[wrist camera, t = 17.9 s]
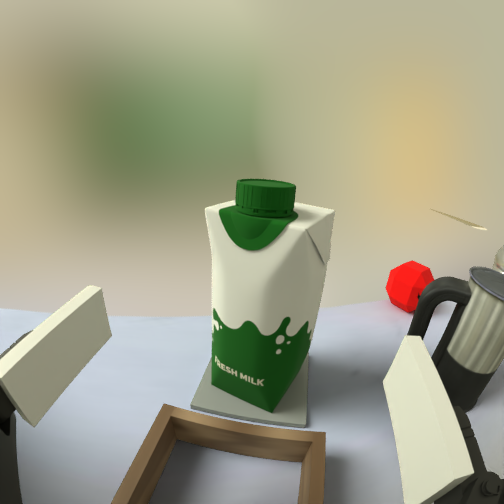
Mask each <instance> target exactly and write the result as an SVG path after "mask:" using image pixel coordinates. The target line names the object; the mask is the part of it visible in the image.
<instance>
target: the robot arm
mask: <svg viewBox="0 0 504 504" xmlns="http://www.w3.org/2000/svg"><path fill="white" fill-rule="evenodd" d="M111 336H112V334H111V330H110V326H109V322H108V317H107V313H106V308H105V303H104V298H103V293H102V288H99V287H96V286H92V285H89V286H88V287H86V288H85V289H84V290H82V291H81V292H80V293H79V294H77V295H76V296H75V297H73V298H72V299H71V300H69V301H68V302H67V303H66V304H64V305H63V306H62V307H61V308H59V309H58V310H57V311H56V312H54V313H53V314H52V315H51V316H50V317H48V318H47V319H46V320H45V321H44V322H42V323H41V324H40V325H39V326H38V327H36V328H35V329H34V330H32V331H30V332H28V333H26V334H24V335H22V336H21V337H20V338H19V339H18V340H17V341H16V343H13V344H12V345H11V346H10V348H8V349H7V350H5V351H4V352H3V353H2V354H1V355H0V504H23V503H22V498H21V491H20V484H19V476H18V466H17V452H16V416H15V414H14V411H15V410H17V411H18V413H19V414H20V415H21V417H22V418H23V419H24V420H25V421H27V422H28V423H29V424H30V425H32V426H33V427H35V426H36V425H37V424H38V422H39V421H40V420H41V418H42V417H43V416H44V415H45V413H46V412H47V411H48V410H49V408H50V407H51V406H52V405H53V404H54V402H55V401H56V400H57V399H58V397H59V396H60V395H61V394H62V393H63V391H64V390H65V389H66V388H67V387H68V385H69V384H70V383H71V382H72V381H73V380H74V378H75V377H76V376H77V375H78V374H79V373H80V371H81V370H82V369H83V368H84V367H85V366H86V364H87V363H88V362H89V361H90V360H91V359H92V358H93V356H94V355H95V354H96V353H97V352H98V351H99V350H100V349H101V347H102V346H103V345H104V344H105V343H106V342H107V341H108V340H109V338H110V337H111ZM383 386H384V390H385V394H386V398H387V402H388V407H389V411H390V416H391V421H392V426H393V431H394V436H395V441H396V447H397V453H398V459H399V465H400V472H401V479H402V487H403V495H404V504H431V503H433V502H434V504H504V479H500V478H499V476H498V475H497V474H495V473H494V472H487V470H486V468H485V465H484V461H483V458H482V455H481V452H480V449H479V446H478V443H477V440H476V437H474V432H473V429H472V428H471V424H470V421H469V419H468V416H467V415H466V413H465V412H464V411H463V410H462V409H461V407H460V406H453V407H452V405H451V402H450V400H449V397H448V395H447V393H446V390H445V388H444V386H443V383H442V381H441V379H440V376H439V374H438V372H437V370H436V368H435V365H434V363H433V361H432V359H431V357H430V355H429V353H428V351H427V349H426V347H425V345H424V343H423V341H422V339H421V337H420V336H408V335H405V337H404V339H403V341H402V343H401V346H400V348H399V350H398V352H397V354H396V356H395V359H394V361H393V363H392V365H391V367H390V369H389V371H388V373H387V375H386V377H385V379H384V381H383Z"/></svg>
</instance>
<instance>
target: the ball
mask: <svg viewBox="0 0 504 504" xmlns="http://www.w3.org/2000/svg"><path fill="white" fill-rule="evenodd" d="M432 281H434V278H433V276H432V273H431V271H430V268H428V267H426V266H423V265H421V264H419V263H417V262H415V261H410V262H407V263H404V264H402V265H400V266H398V267H396V268H394V269H393V270H391V271H390V275H389V279H388V282H387V285H386V290H387V293H388V295H389V298H390V301H391V303H392V304H394V305H396V306H397V307H399V308H401V309H403V310H404V311H406V312H411V311H413V310H416V307H417V304H418V300H419V298H420V295H421V293H422V291H423V290H424V289H425V287H426V286H427V285H428V284H429V283H431V282H432Z"/></svg>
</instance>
